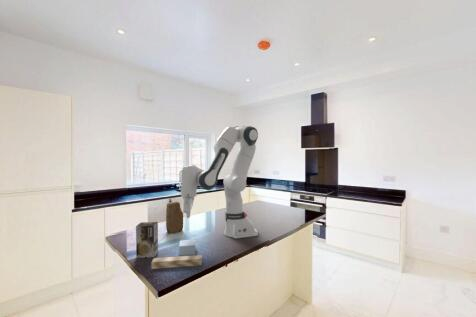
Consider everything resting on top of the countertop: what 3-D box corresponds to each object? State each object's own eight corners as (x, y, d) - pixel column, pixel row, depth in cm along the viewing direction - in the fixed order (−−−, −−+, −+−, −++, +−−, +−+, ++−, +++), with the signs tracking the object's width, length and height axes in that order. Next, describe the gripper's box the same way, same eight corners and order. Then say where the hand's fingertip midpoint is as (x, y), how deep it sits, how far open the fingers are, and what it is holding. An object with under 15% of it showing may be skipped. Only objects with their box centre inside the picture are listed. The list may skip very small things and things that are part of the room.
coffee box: (158, 252, 111) (158, 221, 111) (154, 257, 105) (154, 225, 105) (141, 252, 111) (140, 221, 111) (135, 258, 104) (135, 225, 104)
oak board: (201, 261, 100) (201, 254, 100) (201, 265, 96) (201, 258, 96) (153, 264, 97) (153, 258, 98) (151, 268, 94) (151, 262, 94)
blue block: (195, 248, 116) (195, 239, 116) (195, 254, 108) (195, 244, 108) (180, 249, 114) (180, 240, 114) (179, 256, 107) (179, 246, 107)
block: (167, 234, 137) (167, 204, 138) (165, 231, 144) (165, 202, 144) (184, 231, 143) (184, 202, 143) (181, 228, 149) (181, 200, 150)
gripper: (192, 195, 111) (192, 222, 111) (195, 190, 131) (195, 212, 131) (180, 196, 110) (180, 222, 110) (185, 190, 131) (184, 213, 130)
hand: (188, 217), depth 121 cm, fingers closed
